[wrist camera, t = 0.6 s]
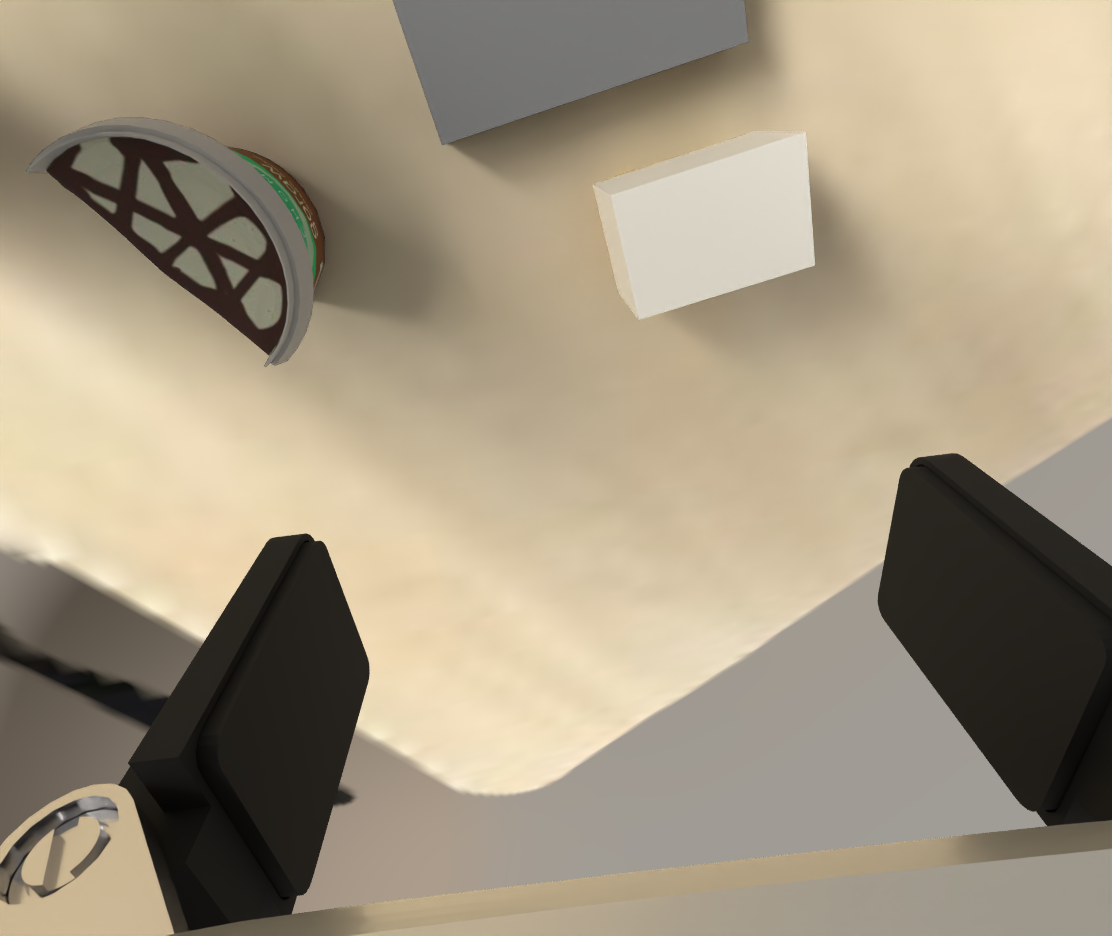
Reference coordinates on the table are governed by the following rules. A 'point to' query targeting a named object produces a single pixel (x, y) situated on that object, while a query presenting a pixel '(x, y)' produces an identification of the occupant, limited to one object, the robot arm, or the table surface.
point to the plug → (709, 221)
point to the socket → (550, 51)
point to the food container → (203, 219)
